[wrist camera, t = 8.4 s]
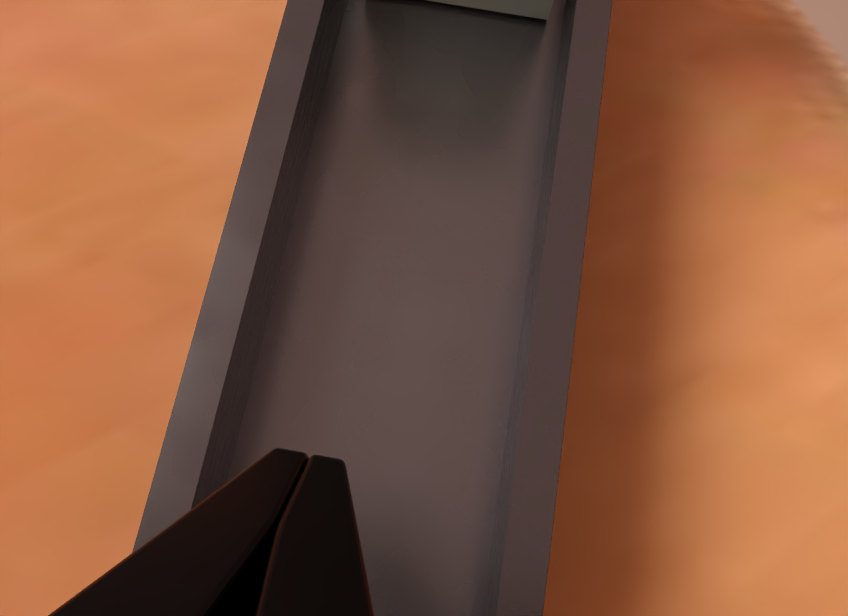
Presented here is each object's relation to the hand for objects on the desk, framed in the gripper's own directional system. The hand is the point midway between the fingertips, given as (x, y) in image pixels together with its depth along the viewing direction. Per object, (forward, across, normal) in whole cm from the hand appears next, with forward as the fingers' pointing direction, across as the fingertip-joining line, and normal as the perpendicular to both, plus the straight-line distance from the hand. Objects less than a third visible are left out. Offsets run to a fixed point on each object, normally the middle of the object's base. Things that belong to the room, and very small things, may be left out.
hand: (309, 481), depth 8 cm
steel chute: (+15, 0, +1) cm, 15 cm away
